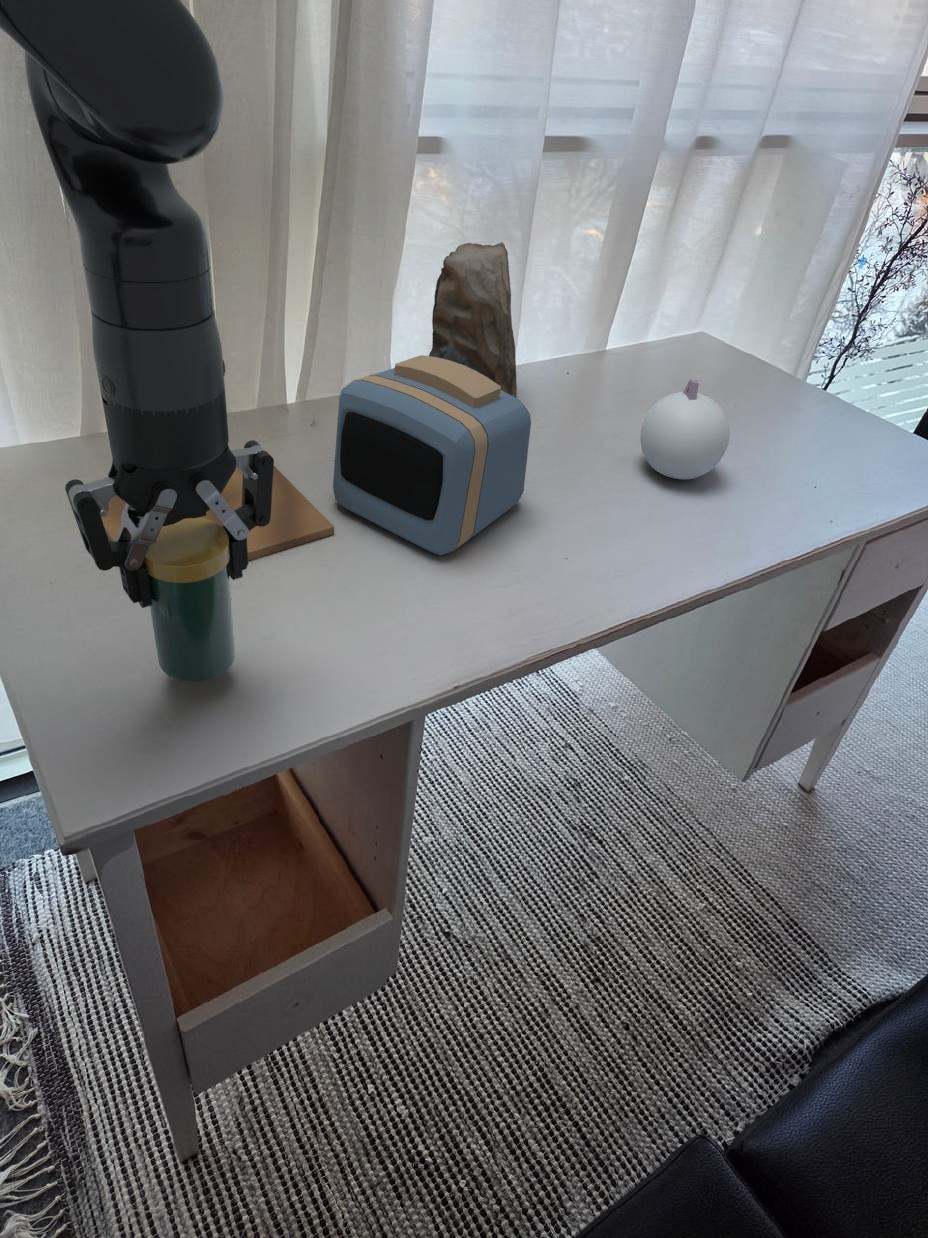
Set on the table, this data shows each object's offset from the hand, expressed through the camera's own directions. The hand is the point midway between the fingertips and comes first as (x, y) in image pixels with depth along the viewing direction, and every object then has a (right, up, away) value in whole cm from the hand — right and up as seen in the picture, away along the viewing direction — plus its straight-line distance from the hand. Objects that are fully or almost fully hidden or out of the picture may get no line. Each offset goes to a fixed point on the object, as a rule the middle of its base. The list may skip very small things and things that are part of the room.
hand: (188, 586), depth 64 cm
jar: (-1, -6, +5) cm, 7 cm away
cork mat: (-5, +8, +24) cm, 25 cm away
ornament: (+47, +16, +42) cm, 65 cm away
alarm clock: (+17, +10, +30) cm, 36 cm away
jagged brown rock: (+22, +25, +49) cm, 59 cm away
